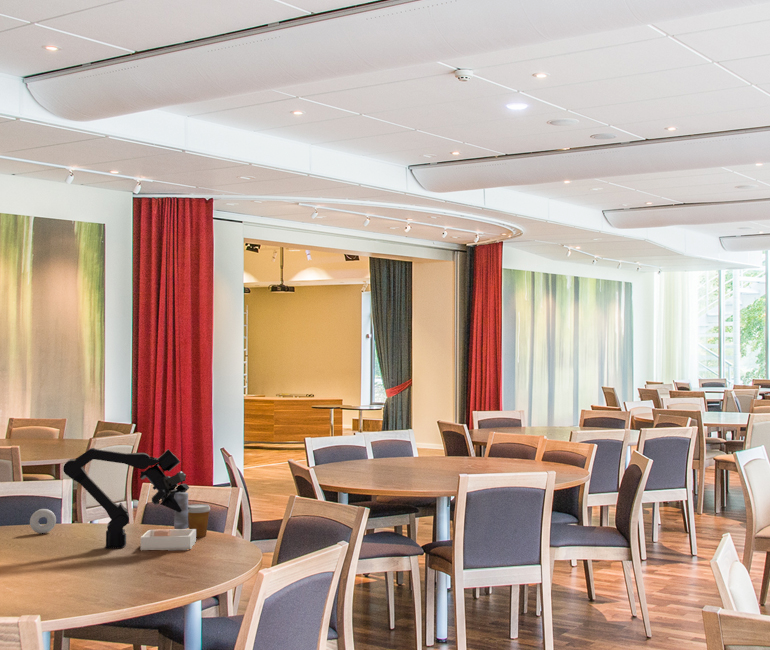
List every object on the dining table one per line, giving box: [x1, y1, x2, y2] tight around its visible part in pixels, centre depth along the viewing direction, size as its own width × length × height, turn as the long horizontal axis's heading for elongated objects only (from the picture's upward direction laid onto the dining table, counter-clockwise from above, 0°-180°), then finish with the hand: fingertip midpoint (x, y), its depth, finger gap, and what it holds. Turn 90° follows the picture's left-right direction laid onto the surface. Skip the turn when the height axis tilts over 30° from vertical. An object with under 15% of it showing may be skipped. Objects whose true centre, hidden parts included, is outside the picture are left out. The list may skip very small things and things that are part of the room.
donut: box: [29, 508, 57, 534], centre depth 343 cm, size 10×4×10 cm, turn 113°
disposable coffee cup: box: [188, 503, 212, 538], centre depth 336 cm, size 10×10×12 cm
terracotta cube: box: [154, 528, 171, 536], centre depth 316 cm, size 5×5×5 cm
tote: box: [140, 528, 197, 551], centre depth 317 cm, size 18×14×5 cm
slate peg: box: [173, 491, 189, 529], centre depth 317 cm, size 5×5×13 cm
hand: (184, 510), depth 317 cm, fingers closed on slate peg, 5 cm apart
